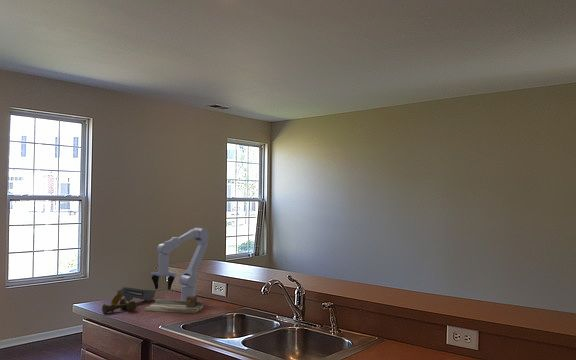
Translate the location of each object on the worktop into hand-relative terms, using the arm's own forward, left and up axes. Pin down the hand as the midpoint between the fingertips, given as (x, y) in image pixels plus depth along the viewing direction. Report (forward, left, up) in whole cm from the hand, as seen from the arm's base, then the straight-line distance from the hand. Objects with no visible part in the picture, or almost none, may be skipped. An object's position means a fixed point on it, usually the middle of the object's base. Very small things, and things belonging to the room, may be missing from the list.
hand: (162, 289), depth 274 cm
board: (+5, +9, -9) cm, 14 cm away
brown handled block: (+6, +18, -8) cm, 21 cm away
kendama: (+15, -16, -10) cm, 24 cm away
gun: (-5, -20, -10) cm, 23 cm away
